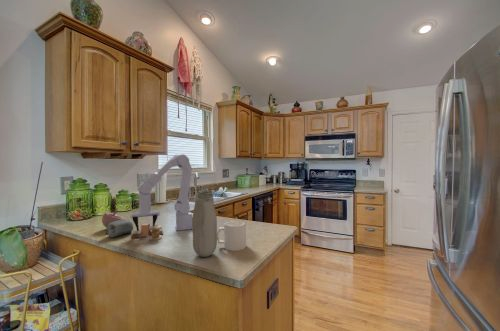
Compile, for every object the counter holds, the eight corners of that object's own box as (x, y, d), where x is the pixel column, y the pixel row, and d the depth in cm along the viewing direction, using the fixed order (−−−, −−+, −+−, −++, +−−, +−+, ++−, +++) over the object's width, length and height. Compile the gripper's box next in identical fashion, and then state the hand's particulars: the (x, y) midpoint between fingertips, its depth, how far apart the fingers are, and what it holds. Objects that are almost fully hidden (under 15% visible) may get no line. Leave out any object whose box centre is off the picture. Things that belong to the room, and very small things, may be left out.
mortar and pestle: (126, 229, 141) (125, 210, 141) (102, 233, 134) (102, 213, 134) (123, 225, 151) (123, 207, 151) (101, 228, 144) (101, 209, 144)
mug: (216, 251, 104) (216, 227, 104) (217, 243, 115) (217, 221, 114) (247, 250, 106) (246, 226, 106) (245, 242, 116) (245, 220, 116)
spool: (111, 234, 121) (111, 215, 125) (102, 240, 125) (103, 221, 130) (137, 234, 131) (136, 217, 136) (128, 239, 136) (128, 222, 140)
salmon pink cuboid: (150, 234, 131) (149, 223, 131) (148, 236, 128) (147, 225, 128) (143, 234, 131) (143, 223, 131) (141, 236, 127) (141, 225, 127)
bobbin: (161, 235, 128) (161, 224, 127) (162, 239, 122) (161, 227, 122) (149, 237, 125) (149, 226, 125) (149, 240, 120) (149, 229, 120)
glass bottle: (217, 259, 96) (216, 190, 96) (192, 261, 95) (190, 191, 94) (217, 250, 106) (216, 187, 106) (193, 251, 105) (192, 188, 104)
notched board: (162, 231, 137) (161, 227, 136) (162, 234, 130) (162, 230, 130) (133, 234, 131) (133, 230, 131) (132, 238, 124) (132, 234, 124)
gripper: (159, 202, 135) (159, 226, 136) (130, 204, 130) (131, 229, 130) (159, 204, 129) (160, 229, 129) (129, 207, 123) (130, 233, 124)
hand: (145, 229), depth 129 cm, fingers open, 7 cm apart
